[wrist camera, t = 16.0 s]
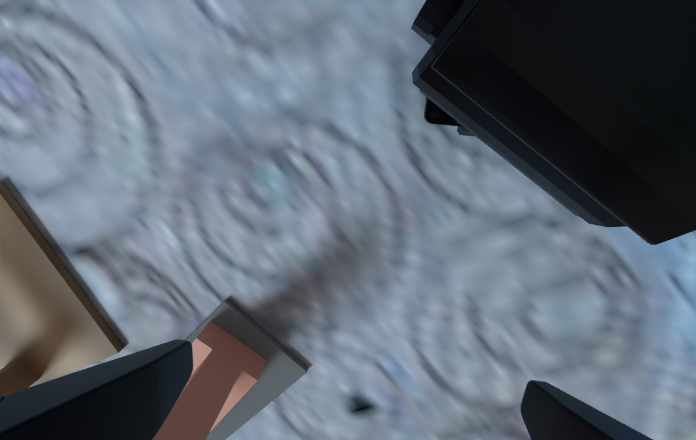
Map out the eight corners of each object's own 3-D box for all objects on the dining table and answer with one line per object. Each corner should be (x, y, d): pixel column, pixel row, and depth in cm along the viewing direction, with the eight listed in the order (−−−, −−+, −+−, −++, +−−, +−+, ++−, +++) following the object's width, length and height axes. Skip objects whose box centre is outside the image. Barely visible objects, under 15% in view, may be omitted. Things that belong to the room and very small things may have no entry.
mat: (226, 298, 23) (224, 301, 23) (308, 368, 25) (307, 372, 24) (134, 390, 26) (130, 394, 26) (211, 448, 27) (209, 452, 27)
